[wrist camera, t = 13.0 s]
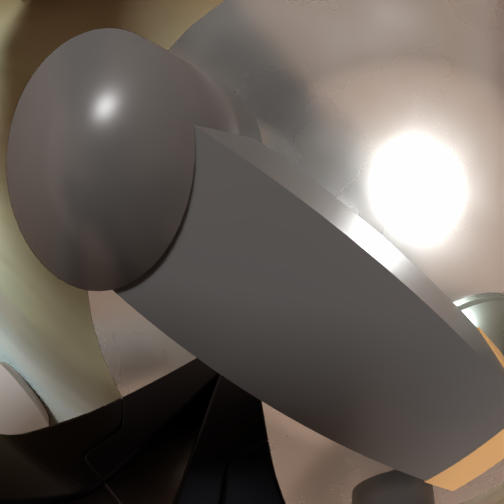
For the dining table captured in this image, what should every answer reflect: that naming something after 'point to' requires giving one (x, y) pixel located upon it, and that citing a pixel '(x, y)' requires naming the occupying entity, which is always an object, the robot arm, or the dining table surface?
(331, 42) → the plate
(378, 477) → the grey and orange bar
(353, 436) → the foot screw
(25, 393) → the can
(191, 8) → the dining table surface
